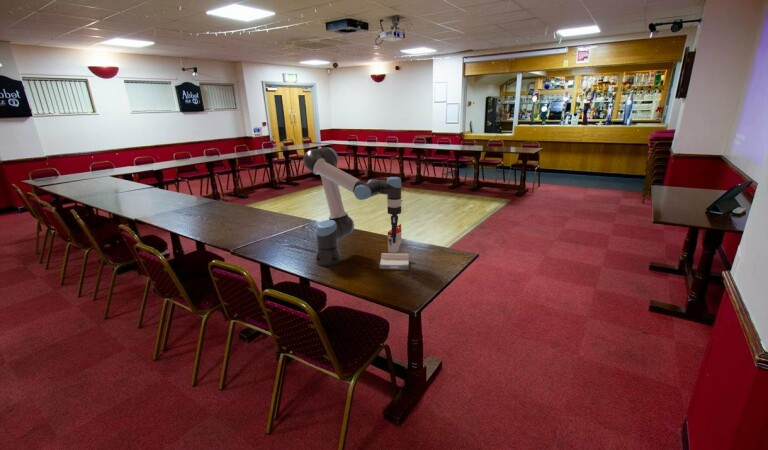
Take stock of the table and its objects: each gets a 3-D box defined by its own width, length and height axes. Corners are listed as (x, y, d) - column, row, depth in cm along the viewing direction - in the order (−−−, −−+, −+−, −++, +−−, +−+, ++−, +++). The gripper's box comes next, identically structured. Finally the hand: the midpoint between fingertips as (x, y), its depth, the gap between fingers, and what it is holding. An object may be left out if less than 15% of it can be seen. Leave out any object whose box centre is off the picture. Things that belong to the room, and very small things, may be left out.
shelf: (379, 269, 201) (379, 261, 199) (381, 260, 212) (381, 253, 211) (408, 269, 200) (408, 262, 198) (408, 260, 211) (408, 253, 210)
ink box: (393, 246, 208) (393, 222, 203) (401, 248, 206) (401, 223, 201) (387, 252, 200) (387, 226, 196) (395, 253, 198) (395, 227, 194)
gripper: (400, 211, 185) (400, 252, 191) (401, 201, 206) (401, 238, 212) (386, 211, 185) (386, 252, 192) (388, 201, 206) (389, 238, 213)
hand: (394, 244), depth 202 cm, fingers closed on ink box, 9 cm apart
